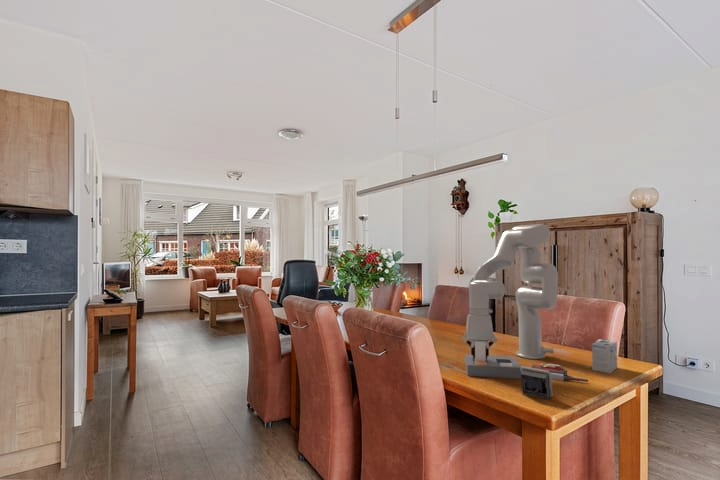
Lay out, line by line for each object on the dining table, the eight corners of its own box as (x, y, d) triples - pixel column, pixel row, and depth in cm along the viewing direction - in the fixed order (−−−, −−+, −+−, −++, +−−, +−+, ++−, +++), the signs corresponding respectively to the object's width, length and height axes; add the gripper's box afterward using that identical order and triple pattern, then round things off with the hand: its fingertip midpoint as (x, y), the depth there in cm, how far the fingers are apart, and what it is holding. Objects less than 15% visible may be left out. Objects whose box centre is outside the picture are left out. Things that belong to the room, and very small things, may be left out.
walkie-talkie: (527, 377, 145) (588, 385, 135) (527, 365, 145) (588, 373, 135) (530, 370, 152) (587, 378, 143) (529, 359, 153) (587, 366, 143)
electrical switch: (553, 397, 124) (551, 369, 123) (549, 403, 120) (548, 374, 119) (523, 390, 130) (522, 364, 129) (519, 396, 126) (517, 369, 125)
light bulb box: (599, 364, 159) (598, 338, 159) (618, 367, 154) (617, 341, 154) (591, 370, 151) (591, 343, 151) (611, 373, 146) (610, 346, 147)
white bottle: (484, 363, 154) (484, 334, 154) (485, 366, 150) (485, 336, 150) (474, 363, 155) (474, 334, 155) (475, 366, 151) (474, 336, 151)
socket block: (514, 366, 157) (514, 355, 157) (522, 378, 141) (522, 367, 142) (465, 363, 161) (464, 353, 161) (467, 375, 146) (467, 364, 146)
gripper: (499, 311, 155) (500, 355, 154) (457, 310, 159) (458, 353, 158) (502, 314, 148) (503, 361, 147) (458, 313, 151) (459, 358, 151)
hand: (479, 356), depth 153 cm, fingers closed on white bottle, 4 cm apart
